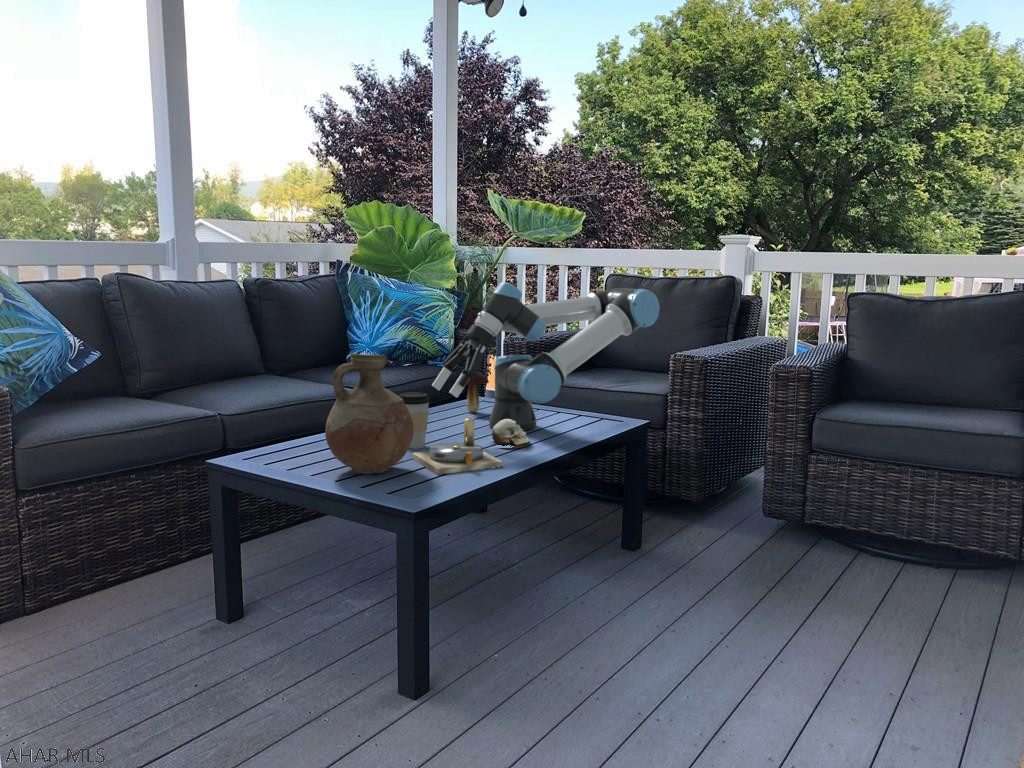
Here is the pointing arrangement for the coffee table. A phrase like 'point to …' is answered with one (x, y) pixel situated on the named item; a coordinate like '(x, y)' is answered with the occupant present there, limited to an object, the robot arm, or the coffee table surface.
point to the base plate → (450, 467)
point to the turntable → (458, 447)
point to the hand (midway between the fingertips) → (444, 391)
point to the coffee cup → (417, 416)
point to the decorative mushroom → (474, 391)
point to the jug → (367, 419)
